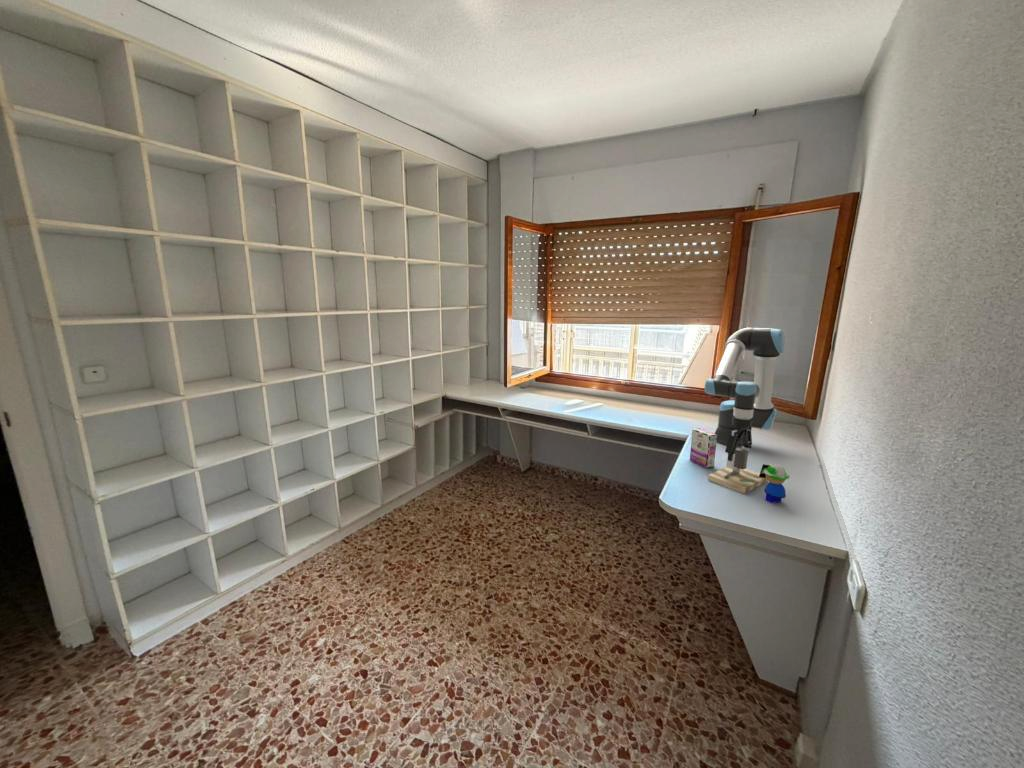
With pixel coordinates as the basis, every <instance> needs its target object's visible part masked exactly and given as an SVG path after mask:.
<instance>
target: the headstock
mask: <svg viewBox="0 0 1024 768" xmlns="http://www.w3.org/2000/svg"><path fill="white" fill-rule="evenodd" d="M732 470H733V468H730V467H727V466H725V467H723V468H721V469H718V470H717V471H714V472H711V473H709V474H708V475H707V476H708V477H707V480H708V481H709V482H713V483H716V484H718V485H720V486H723V487H725V488H729V489H730V490H734V491H736V492H738V493H741V494H746V493H749V492H750V491H753V490H754V489H756V488H758V487H760V486H761V485H764V484H765V483H767V482H769V481H768V480H767V479H766V478H761V477H759V475H760V472H759V473H758V472H756V471H754V470H750V469H747V468H746V469H740V474H735V473H734V474H732V475H730V476H728V477H724V475H727V474H729V473H731V472H732Z"/></svg>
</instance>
